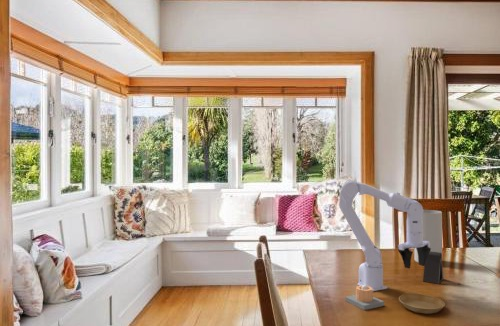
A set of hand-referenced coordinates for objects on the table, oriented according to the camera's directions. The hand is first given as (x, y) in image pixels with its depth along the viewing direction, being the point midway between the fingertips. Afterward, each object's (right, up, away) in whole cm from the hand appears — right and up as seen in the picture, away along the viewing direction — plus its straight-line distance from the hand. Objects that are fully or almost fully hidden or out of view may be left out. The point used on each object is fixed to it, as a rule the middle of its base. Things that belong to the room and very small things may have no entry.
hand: (414, 266), depth 157 cm
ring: (-23, -8, -13) cm, 28 cm away
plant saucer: (-5, -10, -17) cm, 21 cm away
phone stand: (+13, -9, +13) cm, 21 cm away
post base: (-23, -10, -13) cm, 28 cm away
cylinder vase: (+24, -9, +42) cm, 49 cm away
